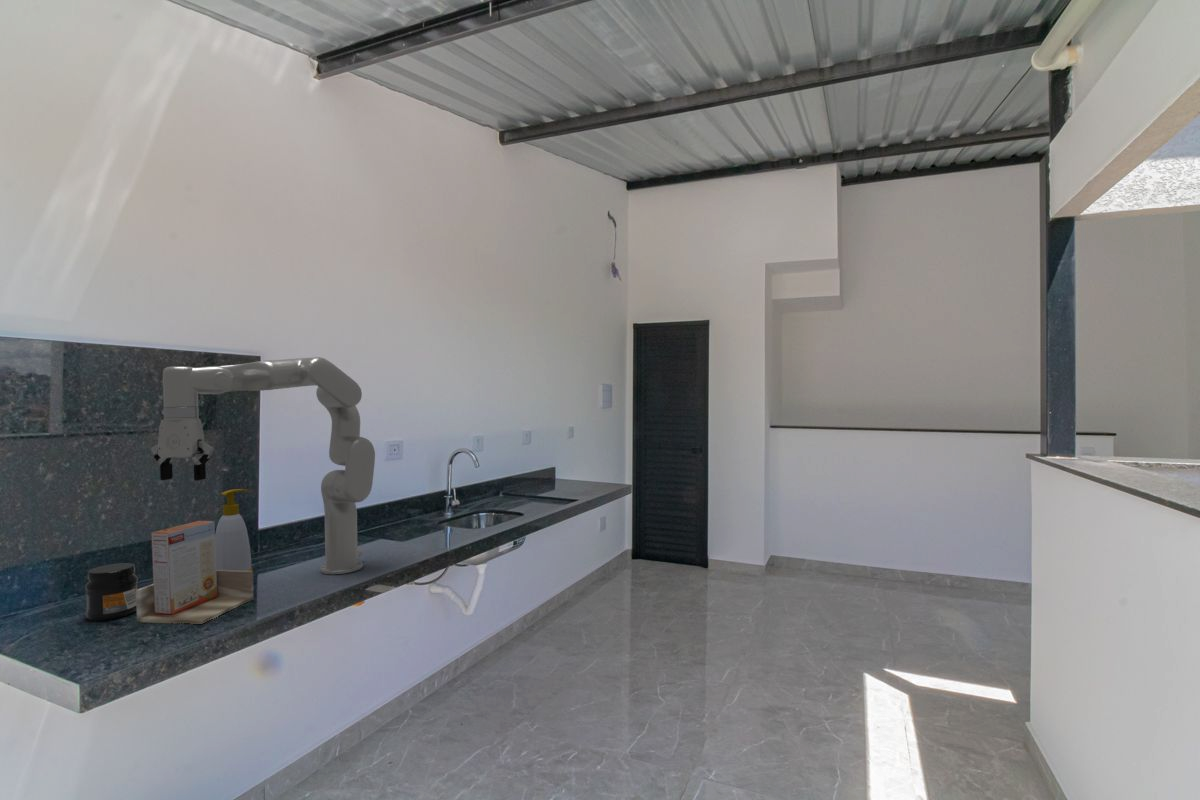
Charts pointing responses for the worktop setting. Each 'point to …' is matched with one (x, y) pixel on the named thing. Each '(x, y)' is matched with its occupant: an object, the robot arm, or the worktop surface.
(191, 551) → the cracker box
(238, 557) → the soap bottle
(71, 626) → the worktop surface
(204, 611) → the beige tray
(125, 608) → the supplement container
